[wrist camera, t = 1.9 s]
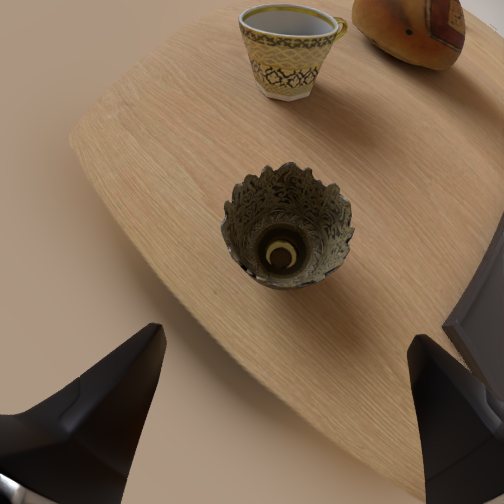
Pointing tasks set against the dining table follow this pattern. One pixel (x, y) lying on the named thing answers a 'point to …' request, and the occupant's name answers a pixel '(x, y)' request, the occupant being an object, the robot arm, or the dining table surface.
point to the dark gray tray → (483, 318)
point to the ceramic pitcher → (414, 29)
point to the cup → (287, 226)
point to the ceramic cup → (287, 46)
